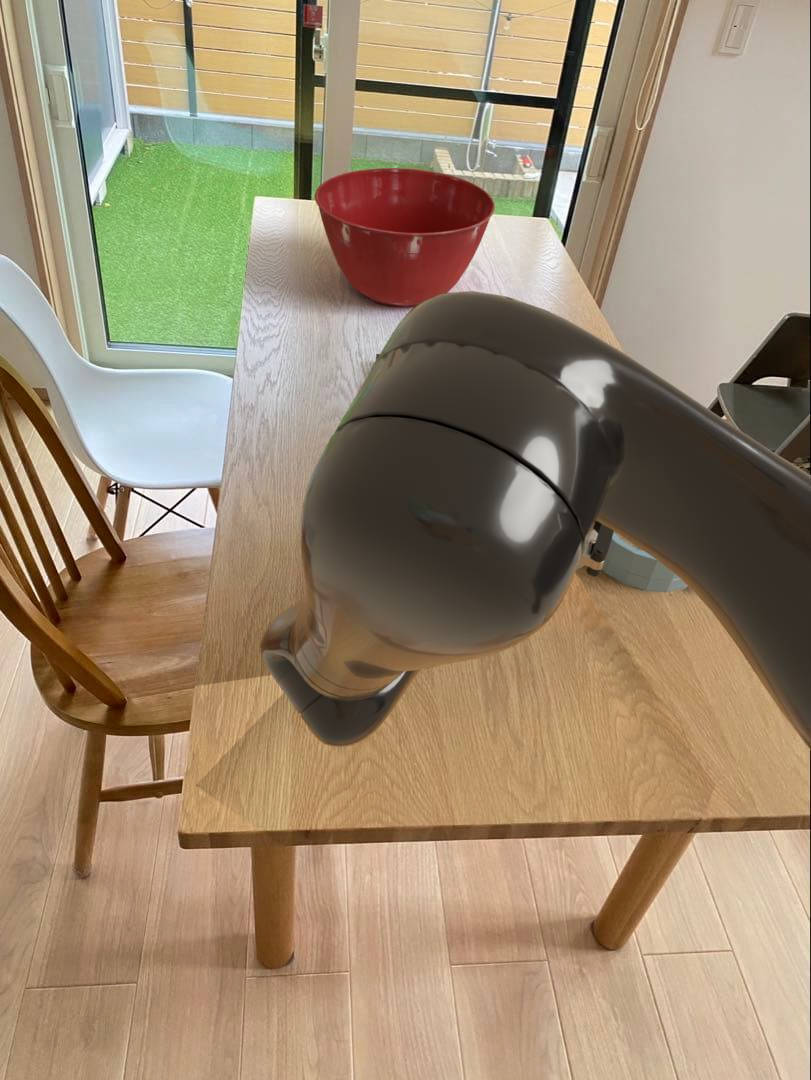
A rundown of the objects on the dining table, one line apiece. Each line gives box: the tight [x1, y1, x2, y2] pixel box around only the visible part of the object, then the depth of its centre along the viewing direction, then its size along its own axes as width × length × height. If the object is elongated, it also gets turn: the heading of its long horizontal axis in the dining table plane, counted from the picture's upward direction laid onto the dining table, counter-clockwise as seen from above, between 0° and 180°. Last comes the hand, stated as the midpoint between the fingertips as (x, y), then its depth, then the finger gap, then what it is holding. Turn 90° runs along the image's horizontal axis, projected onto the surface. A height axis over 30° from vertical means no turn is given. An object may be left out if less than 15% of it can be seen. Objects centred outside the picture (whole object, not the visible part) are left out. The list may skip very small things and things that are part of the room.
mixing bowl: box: [314, 167, 496, 308], centre depth 128 cm, size 28×28×16 cm
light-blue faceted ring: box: [601, 532, 688, 593], centre depth 85 cm, size 13×13×6 cm
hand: (601, 484), depth 74 cm, fingers closed on salt shaker, 3 cm apart
